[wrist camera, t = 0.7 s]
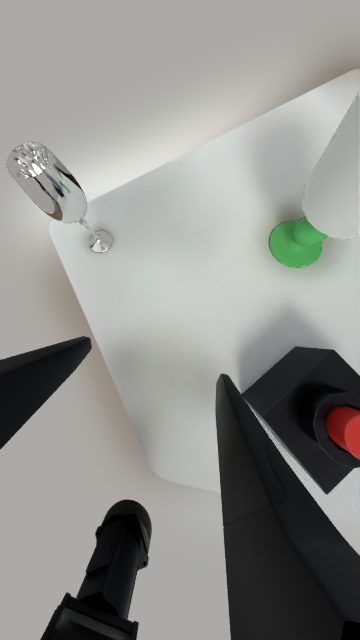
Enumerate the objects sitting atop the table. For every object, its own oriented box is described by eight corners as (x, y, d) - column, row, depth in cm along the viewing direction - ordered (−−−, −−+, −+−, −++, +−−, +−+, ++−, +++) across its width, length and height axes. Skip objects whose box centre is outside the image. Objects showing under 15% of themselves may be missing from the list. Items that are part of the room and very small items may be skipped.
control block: (287, 450, 20) (347, 518, 13) (240, 395, 21) (270, 426, 14) (344, 397, 21) (433, 431, 13) (295, 346, 22) (352, 351, 14)
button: (346, 456, 14) (370, 473, 12) (316, 422, 14) (335, 434, 12) (374, 429, 14) (401, 443, 12) (343, 397, 14) (365, 405, 13)
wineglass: (80, 239, 26) (-8, 156, 14) (105, 222, 26) (39, 127, 14) (95, 261, 25) (15, 194, 13) (121, 244, 25) (64, 163, 14)
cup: (308, 199, 25) (513, -32, 9) (350, 260, 23) (692, 103, 8) (242, 228, 25) (339, 42, 9) (279, 293, 23) (481, 199, 7)
